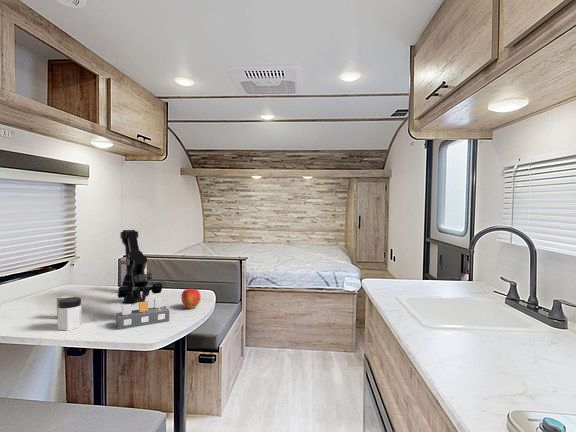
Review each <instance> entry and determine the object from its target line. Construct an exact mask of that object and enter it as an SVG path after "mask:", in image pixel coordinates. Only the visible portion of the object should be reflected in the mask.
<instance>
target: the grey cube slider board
mask: <svg viewBox="0 0 576 432" xmlns="http://www.w3.org/2000/svg"><path fill="white" fill-rule="evenodd" d="M115 319H116V320H115V324H116V327H117V330H124V329H131V328H136V327H143V326H149V325H154V324H159V323H160V324H161V323H167V322H170V309H169V308H168V307H167V306H166V305H163V307H160V308H154V306H153V307H148V311H145V312H139V309H131V314H128V315H122V311H119V312H116V313H115Z"/></svg>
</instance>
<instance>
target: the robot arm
mask: <svg viewBox="0 0 576 432" xmlns="http://www.w3.org/2000/svg"><path fill="white" fill-rule="evenodd" d="M119 237H120V239H121V243H122V244H123V246H124V251H125V258H126V275H125V276H124V278H123V281H122V286H121V285H120V286H119V287H118V289H117V298H118V299H121V298H122V299H123V301H122V302H121V304H123V305H126V304H131V305H133V304H136V303H139V302H145V301H146V298H147V297H148V296H149V295H150V292H151V293H152V294H154V295H157V294H161V292H162V291H163V287H164V286H163V283H162V282H161V281H160V282H152V284H151V285H148V284H149V282H148V281H151V280H152V279H153V275H152V274H153V273H152V272H147V274H145V273H144V270H145V267H146V263H147V264H148V258H147V256H145V255H144V254H143V252H142V251H141V250H140V248H139V243H138V238H139V231H136V229H123V230H122V231H120V234H119ZM140 292H143V293H142V295H141V293H140Z"/></svg>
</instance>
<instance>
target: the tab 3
mask: <svg viewBox="0 0 576 432" xmlns="http://www.w3.org/2000/svg"><path fill="white" fill-rule="evenodd" d="M163 302H164V300H163V297H157V298H156V297H155V298H154V299H153V307H154V308H160V307H163V306H164V303H163Z"/></svg>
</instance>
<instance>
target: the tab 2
mask: <svg viewBox="0 0 576 432" xmlns="http://www.w3.org/2000/svg"><path fill="white" fill-rule="evenodd" d="M148 308H149V301H146V300H145V302H138V310H139V312H145V311H148Z"/></svg>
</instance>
